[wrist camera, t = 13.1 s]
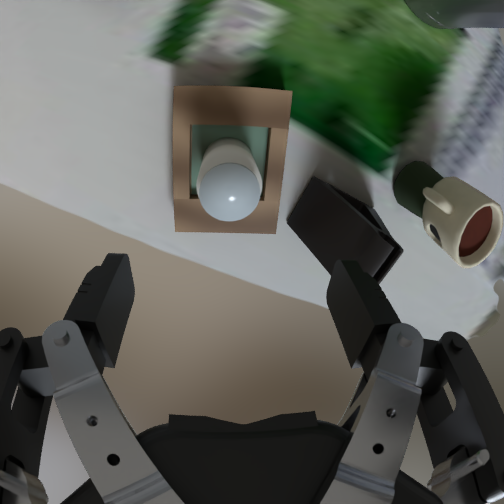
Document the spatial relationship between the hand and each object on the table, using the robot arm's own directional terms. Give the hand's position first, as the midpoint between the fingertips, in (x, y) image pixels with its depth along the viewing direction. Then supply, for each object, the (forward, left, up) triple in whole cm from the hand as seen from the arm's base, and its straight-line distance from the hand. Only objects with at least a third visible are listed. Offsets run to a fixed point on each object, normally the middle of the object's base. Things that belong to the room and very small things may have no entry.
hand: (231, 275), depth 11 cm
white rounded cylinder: (0, 0, -18) cm, 18 cm away
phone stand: (+6, +12, -20) cm, 24 cm away
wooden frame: (0, 0, -20) cm, 20 cm away
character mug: (+1, +22, -20) cm, 30 cm away
